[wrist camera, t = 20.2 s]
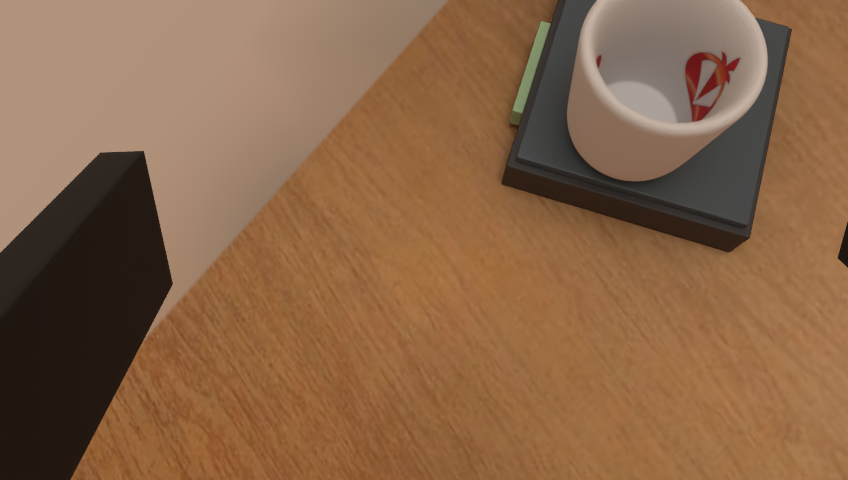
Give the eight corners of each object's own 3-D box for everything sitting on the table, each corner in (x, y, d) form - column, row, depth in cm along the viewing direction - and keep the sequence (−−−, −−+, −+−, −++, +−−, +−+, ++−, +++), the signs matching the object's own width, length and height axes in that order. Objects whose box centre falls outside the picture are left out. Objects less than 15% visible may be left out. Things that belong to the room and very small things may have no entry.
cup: (542, 20, 40) (569, -85, 33) (685, 18, 40) (746, -87, 33) (555, 202, 37) (588, 134, 30) (711, 200, 37) (784, 131, 30)
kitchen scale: (490, 181, 41) (495, 158, 38) (550, -7, 45) (560, -42, 42) (729, 252, 40) (755, 235, 37) (771, 53, 43) (797, 22, 40)
